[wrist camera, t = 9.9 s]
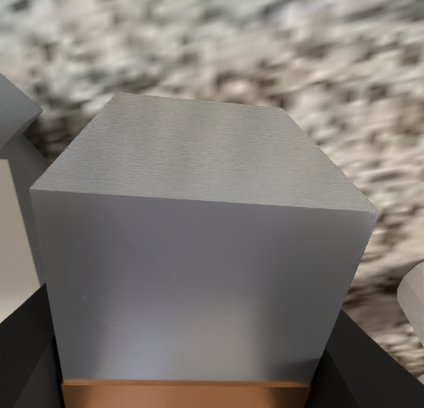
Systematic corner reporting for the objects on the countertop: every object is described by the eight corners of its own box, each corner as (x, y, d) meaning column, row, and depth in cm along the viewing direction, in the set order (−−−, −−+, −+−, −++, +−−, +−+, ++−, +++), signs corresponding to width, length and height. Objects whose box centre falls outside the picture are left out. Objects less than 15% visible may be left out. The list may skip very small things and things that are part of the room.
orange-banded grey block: (236, 328, 12) (262, 505, 8) (123, 326, 12) (84, 510, 7) (282, 108, 8) (384, 214, 4) (116, 92, 8) (25, 190, 4)
